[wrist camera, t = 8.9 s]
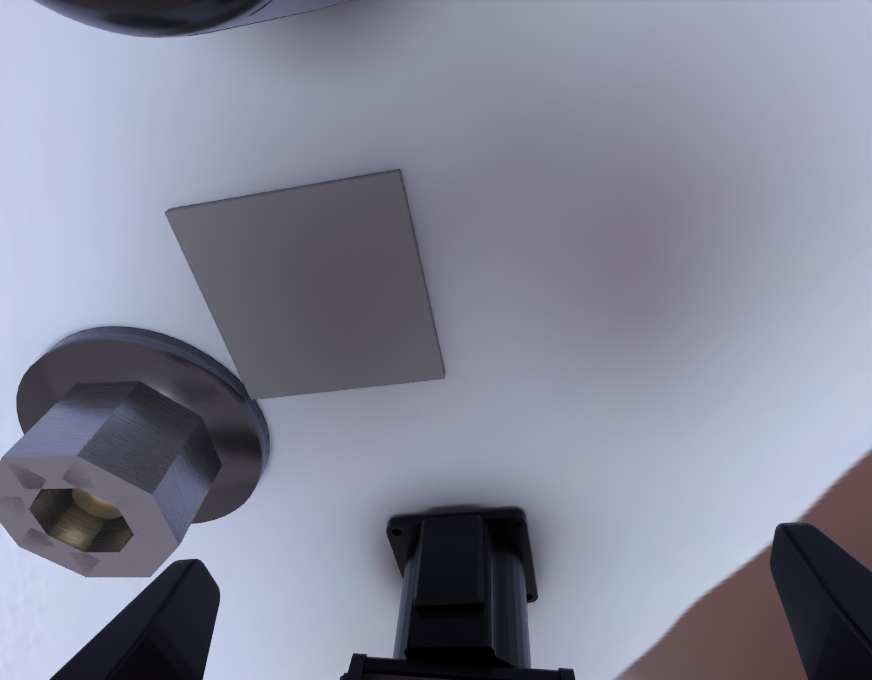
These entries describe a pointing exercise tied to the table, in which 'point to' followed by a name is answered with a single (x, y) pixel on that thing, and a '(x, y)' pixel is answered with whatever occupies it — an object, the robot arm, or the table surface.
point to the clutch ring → (108, 479)
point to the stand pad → (315, 285)
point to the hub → (173, 377)
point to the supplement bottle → (178, 14)
